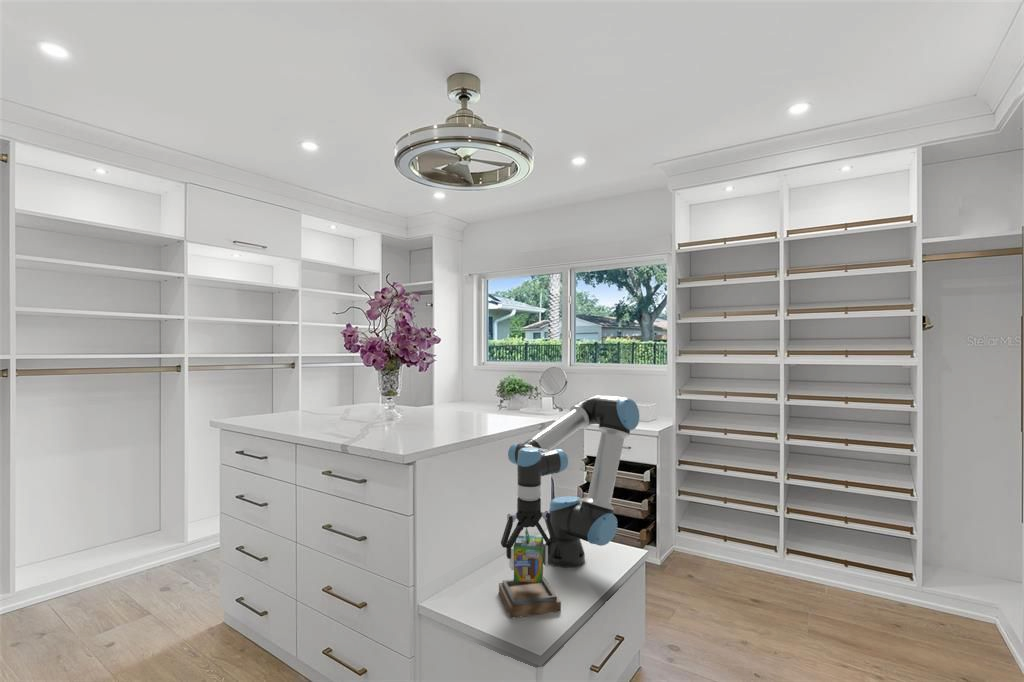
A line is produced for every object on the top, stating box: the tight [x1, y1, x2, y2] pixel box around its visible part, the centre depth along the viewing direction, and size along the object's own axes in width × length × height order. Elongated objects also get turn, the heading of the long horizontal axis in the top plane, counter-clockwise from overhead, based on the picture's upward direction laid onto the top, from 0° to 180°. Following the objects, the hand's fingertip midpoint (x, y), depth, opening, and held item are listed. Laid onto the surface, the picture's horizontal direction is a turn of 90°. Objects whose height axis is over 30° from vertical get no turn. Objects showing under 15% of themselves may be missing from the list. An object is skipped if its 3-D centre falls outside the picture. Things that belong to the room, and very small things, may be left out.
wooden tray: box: [498, 576, 562, 619], centre depth 160 cm, size 16×16×4 cm
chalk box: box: [513, 528, 544, 583], centre depth 161 cm, size 9×9×15 cm
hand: (528, 566), depth 160 cm, fingers closed on chalk box, 10 cm apart
